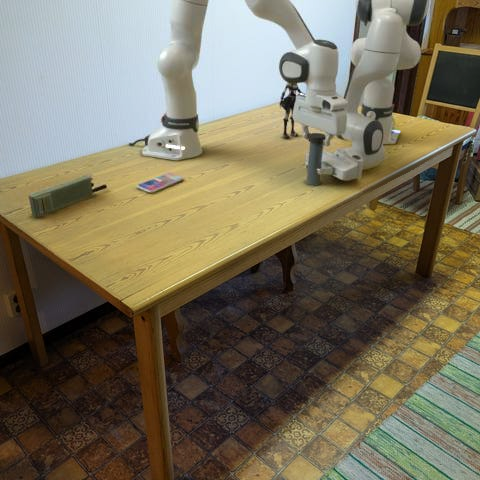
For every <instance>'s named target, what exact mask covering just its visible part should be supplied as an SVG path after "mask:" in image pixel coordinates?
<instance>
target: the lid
mask: <svg viewBox="0 0 480 480" xmlns="http://www.w3.org/2000/svg"><path fill="white" fill-rule="evenodd" d="M326 138H327V136H326V134H324V133H320V132H312V133H311V134H310V135H309V139H308V142H309V143H310V142H311V143H315V144H322V143H323V140H326Z"/></svg>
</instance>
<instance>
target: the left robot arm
mask: <svg viewBox="0 0 480 480" xmlns="http://www.w3.org/2000/svg"><path fill="white" fill-rule="evenodd" d="M244 2H245V4H246V6H247V7H248V10H250V12H251V13H252V15H254V16H255V17H257V18H259V19H261V20H265V21H268V22H271V23H274V24H276V25H278V26H279V27H280V28H282V29H283V31H284V32H285V33H286V35H287V37H289V39H290V42H291V43H292V45H293V46H294V48H295V49H292V50H289V51H287V52H285V53H284V54H283V55H282V56H281V57H280V59H279V63H278V70H279V74H280V77H281V78H282V80H283V81H285V82H286V83H294V84H296V83H297V84H301V83H302V84H303V83H304V84H305V85H306V86H305V93H304V92H302V93H297V94H296V101H295V104H294V110H293V120H294V123H298V124H300V126H301V130H302V133H303V136H302V137H303V139H306V140H309V135H310V134H312V133H311V132H310V130H309V128H311V129H314V130H318V131H321V132H324V133H325V136H326V140H323V147H330V146H331V141H332V140H333V138H334V137H337V136H338V135H342V134H344V132H345V131H346V125H347V112H346V110H345V109H344V108H347V106H348V102H347V100H345V99H344V96H341V95H340V94H339V92H337V85H336V84H337V83H336V79H337V77H338V72H339V49H338V46H337V44H335V42H333V41H330V40H326V39H315V38H314V36H313V34H312V33H311V31H310V29H309V28H308V26H307V24H306V22H305V21H304V19H303V17H302V15H301V14H300V12H299V11H298V9H297V7H295V5H294V4H293V3H292V1H291V0H244ZM208 6H209V0H173V2H172V7H171V11H170V12H171V13H170V18H169V23H170V38H169V45H167V46H166V47H164V48H163V49H162V50H161V51H160V53H159V55H158V57H157V60H156V68H157V71H158V72H159V75H160V78H161V82H162V86H163V90H164V98H165V113H163V114H162V116H161V118H160V123H161V125H159V127H157V128H156V129H155V130H154V131H152V132H151V133H149V134H148V135H146V136H145V137H144V138H140V139H137V140H135V141H134V142H129V143H128V145H129V146H135V145H136V144H138V143H139V142H144V147H143V148H142V150H141V155H142V156H145V157H152V158H157V159H164V160H170V161H176V162H178V161H182V160H185V159H190V158H191V159H192V158H196V157H198V156H200V155H202V153H203V149H202V148H203V147H202V145H201V142H200V134H199V128H200V121H199V114H198V103H197V100H198V99H197V91H196V89H195V84H194V80H193V70H195V69H196V68H197V66H198V64H199V61H200V55H201V54H200V53H201V47H202V39H203V37H202V36H203V29H204V25H205V20H206V15H207V10H208Z"/></svg>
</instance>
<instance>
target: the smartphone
mask: <svg viewBox="0 0 480 480" xmlns="http://www.w3.org/2000/svg"><path fill="white" fill-rule="evenodd" d="M182 181H184V177H183V176H180V175H179V174H174V173H172V172H166V173H163V174H161V175H159V176H156V177H154V178H151V179H149V180H146V181H143V182H141V183H138V184H137V185H136V188H137V189H139V190H141V191H143V192H145V193H148V194H154V193H156V192H158V191H160V190H161V191H162V190H164V189H166V188H168V187H170V186H172V185H175V184H177V183H180V182H182Z"/></svg>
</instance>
